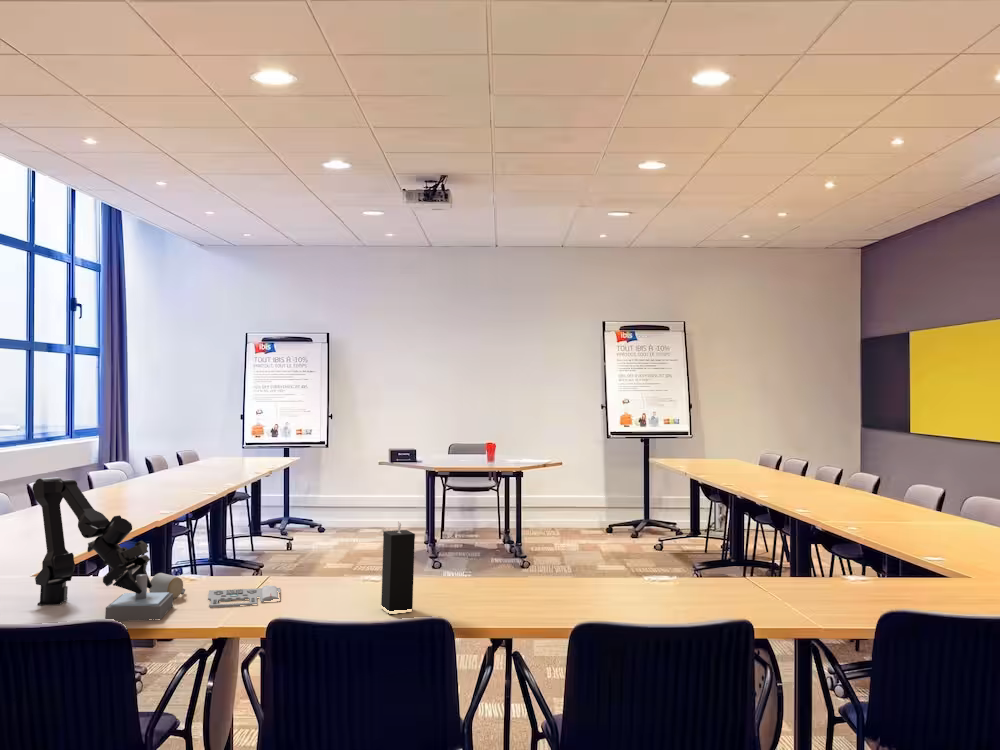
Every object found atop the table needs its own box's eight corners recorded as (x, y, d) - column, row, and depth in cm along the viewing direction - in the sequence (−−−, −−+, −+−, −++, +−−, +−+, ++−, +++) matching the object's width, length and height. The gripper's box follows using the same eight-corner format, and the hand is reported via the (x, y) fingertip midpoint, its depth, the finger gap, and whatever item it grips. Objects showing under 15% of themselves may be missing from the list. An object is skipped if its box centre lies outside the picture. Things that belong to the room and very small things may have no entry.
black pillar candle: (388, 615, 228) (391, 524, 229) (380, 609, 235) (383, 520, 236) (412, 612, 232) (415, 523, 233) (404, 606, 239) (406, 519, 240)
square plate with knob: (110, 606, 216) (111, 580, 216) (124, 595, 229) (125, 570, 229) (157, 605, 218) (158, 579, 219) (169, 594, 231) (170, 570, 232)
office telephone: (280, 583, 258) (283, 597, 239) (280, 591, 258) (282, 606, 239) (209, 586, 250) (206, 601, 231) (208, 594, 250) (205, 609, 231)
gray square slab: (105, 621, 215) (105, 607, 215) (121, 607, 230) (122, 594, 230) (159, 620, 218) (160, 606, 218) (172, 606, 232) (173, 593, 232)
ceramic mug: (168, 601, 237) (169, 577, 238) (147, 599, 240) (149, 575, 240) (191, 594, 247) (192, 571, 248) (171, 592, 250) (172, 569, 250)
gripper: (115, 539, 215) (151, 578, 215) (145, 528, 234) (178, 564, 233) (86, 566, 215) (123, 605, 214) (119, 553, 233) (152, 589, 233)
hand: (145, 590), depth 224 cm, fingers open, 6 cm apart
